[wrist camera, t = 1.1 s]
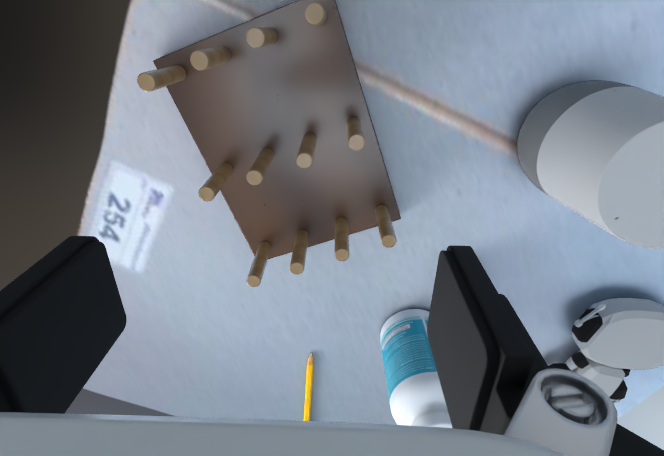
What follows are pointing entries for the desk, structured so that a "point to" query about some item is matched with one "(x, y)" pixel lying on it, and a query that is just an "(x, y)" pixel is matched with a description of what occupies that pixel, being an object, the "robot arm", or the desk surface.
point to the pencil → (308, 388)
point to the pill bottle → (412, 371)
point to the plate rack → (283, 131)
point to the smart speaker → (601, 156)
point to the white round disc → (617, 342)
